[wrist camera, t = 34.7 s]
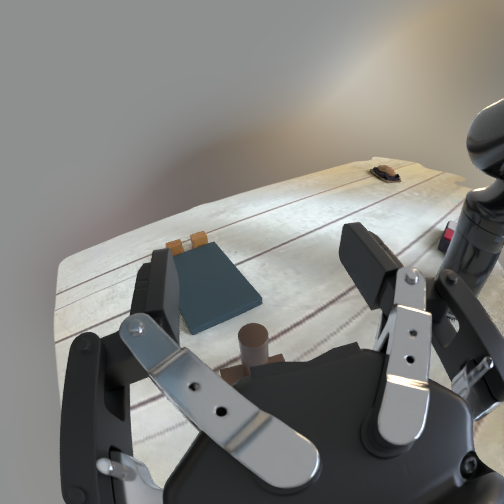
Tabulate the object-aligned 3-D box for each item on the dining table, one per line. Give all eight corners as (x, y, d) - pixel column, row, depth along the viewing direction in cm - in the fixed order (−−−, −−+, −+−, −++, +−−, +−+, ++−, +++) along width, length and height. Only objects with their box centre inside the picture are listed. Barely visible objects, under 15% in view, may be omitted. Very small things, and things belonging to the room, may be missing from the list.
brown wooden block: (209, 247, 55) (205, 242, 57) (206, 235, 53) (203, 230, 55) (195, 252, 54) (192, 247, 56) (192, 239, 52) (189, 234, 54)
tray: (215, 247, 55) (214, 241, 54) (262, 303, 43) (262, 297, 42) (159, 268, 51) (157, 262, 50) (192, 335, 38) (190, 329, 37)
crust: (184, 256, 53) (182, 251, 55) (181, 244, 51) (179, 238, 53) (170, 260, 52) (168, 255, 54) (167, 248, 50) (165, 243, 52)
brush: (281, 362, 34) (285, 307, 27) (293, 390, 31) (302, 341, 24) (222, 378, 32) (206, 326, 25) (230, 408, 29) (215, 365, 22)
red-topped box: (449, 218, 55) (496, 240, 45) (445, 232, 57) (491, 254, 48) (441, 235, 49) (496, 261, 39) (436, 251, 51) (489, 277, 42)
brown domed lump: (367, 171, 88) (368, 161, 86) (385, 170, 89) (386, 161, 87) (385, 183, 80) (386, 172, 77) (403, 182, 81) (404, 172, 78)
